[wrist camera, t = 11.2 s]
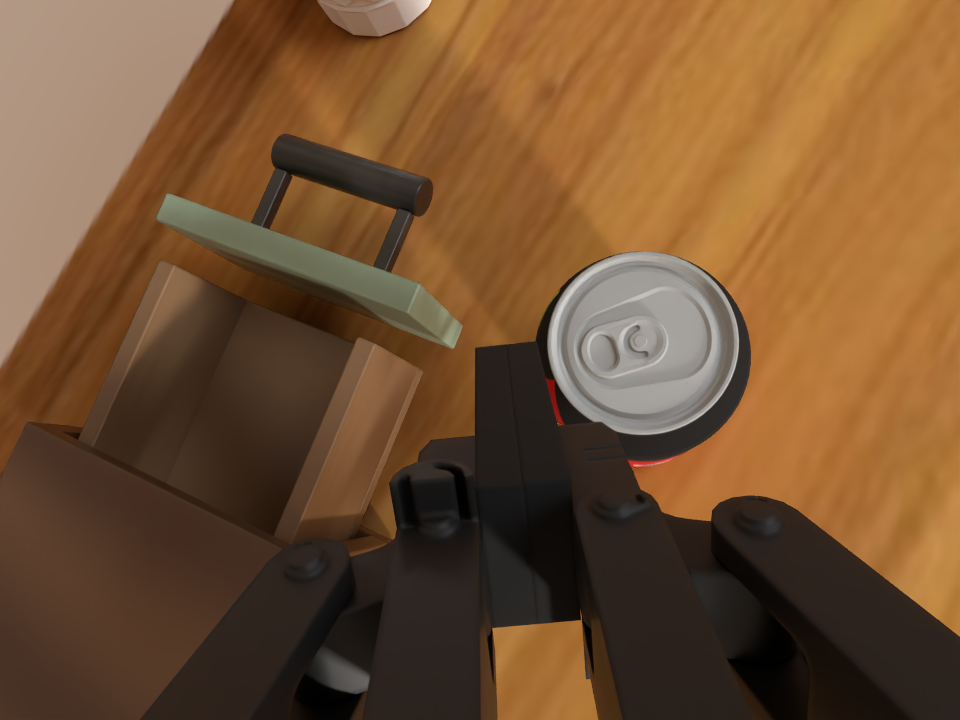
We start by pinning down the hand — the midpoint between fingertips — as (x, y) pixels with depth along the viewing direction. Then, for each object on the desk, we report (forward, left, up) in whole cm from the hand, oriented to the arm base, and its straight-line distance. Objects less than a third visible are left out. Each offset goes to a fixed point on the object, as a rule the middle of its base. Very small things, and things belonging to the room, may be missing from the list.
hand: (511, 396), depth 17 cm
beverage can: (+2, +3, -14) cm, 15 cm away
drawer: (-12, -2, -13) cm, 18 cm away
